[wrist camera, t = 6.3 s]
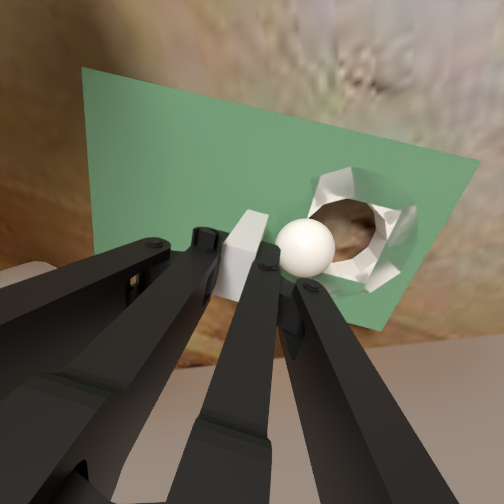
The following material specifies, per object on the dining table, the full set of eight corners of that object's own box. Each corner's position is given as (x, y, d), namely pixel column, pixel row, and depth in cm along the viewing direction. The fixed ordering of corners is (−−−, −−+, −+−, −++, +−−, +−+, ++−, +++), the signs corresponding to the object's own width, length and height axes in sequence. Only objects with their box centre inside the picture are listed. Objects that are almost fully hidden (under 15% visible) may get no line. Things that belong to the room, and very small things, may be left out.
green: (112, 244, 24) (94, 254, 22) (107, 76, 18) (81, 66, 16) (371, 313, 23) (380, 331, 21) (455, 159, 17) (481, 161, 15)
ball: (292, 257, 20) (256, 263, 17) (308, 210, 18) (271, 209, 16) (333, 283, 17) (298, 294, 15) (355, 231, 16) (320, 233, 13)
